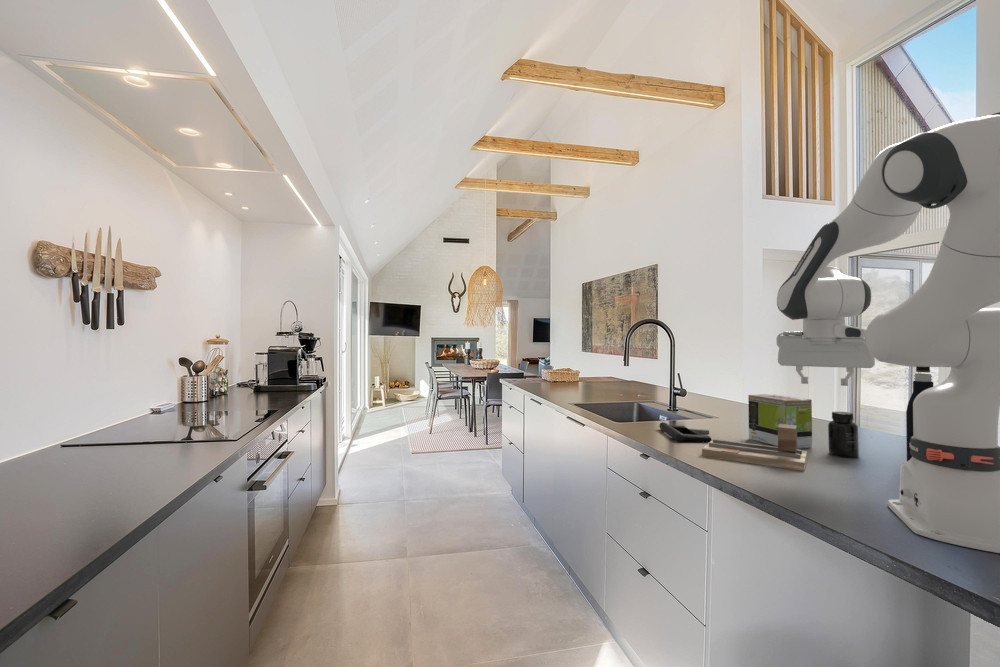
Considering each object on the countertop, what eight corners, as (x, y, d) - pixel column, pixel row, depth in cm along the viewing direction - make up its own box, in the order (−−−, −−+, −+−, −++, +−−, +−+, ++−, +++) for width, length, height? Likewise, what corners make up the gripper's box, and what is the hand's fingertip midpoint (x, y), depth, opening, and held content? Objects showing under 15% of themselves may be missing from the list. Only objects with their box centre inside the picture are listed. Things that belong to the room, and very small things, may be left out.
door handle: (701, 424, 161) (655, 421, 162) (725, 437, 141) (673, 433, 142) (700, 433, 161) (655, 430, 162) (724, 447, 141) (672, 443, 142)
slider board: (804, 470, 112) (804, 458, 112) (702, 455, 126) (701, 445, 126) (807, 458, 123) (807, 447, 123) (712, 445, 137) (712, 436, 137)
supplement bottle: (857, 453, 127) (856, 411, 127) (860, 459, 121) (860, 415, 121) (827, 450, 131) (826, 409, 131) (829, 456, 125) (828, 413, 125)
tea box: (813, 447, 134) (813, 398, 134) (785, 450, 132) (785, 400, 132) (773, 436, 149) (772, 392, 149) (747, 438, 147) (746, 393, 147)
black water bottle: (944, 475, 107) (943, 351, 107) (908, 471, 111) (907, 350, 111) (939, 469, 112) (938, 350, 112) (905, 464, 116) (904, 350, 116)
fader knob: (795, 456, 117) (795, 428, 117) (778, 453, 119) (777, 427, 119) (797, 452, 121) (797, 425, 121) (779, 450, 123) (779, 423, 123)
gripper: (775, 331, 119) (775, 383, 119) (875, 330, 106) (875, 388, 106) (777, 331, 124) (778, 381, 124) (873, 330, 111) (874, 385, 111)
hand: (824, 384), depth 115 cm, fingers open, 7 cm apart
